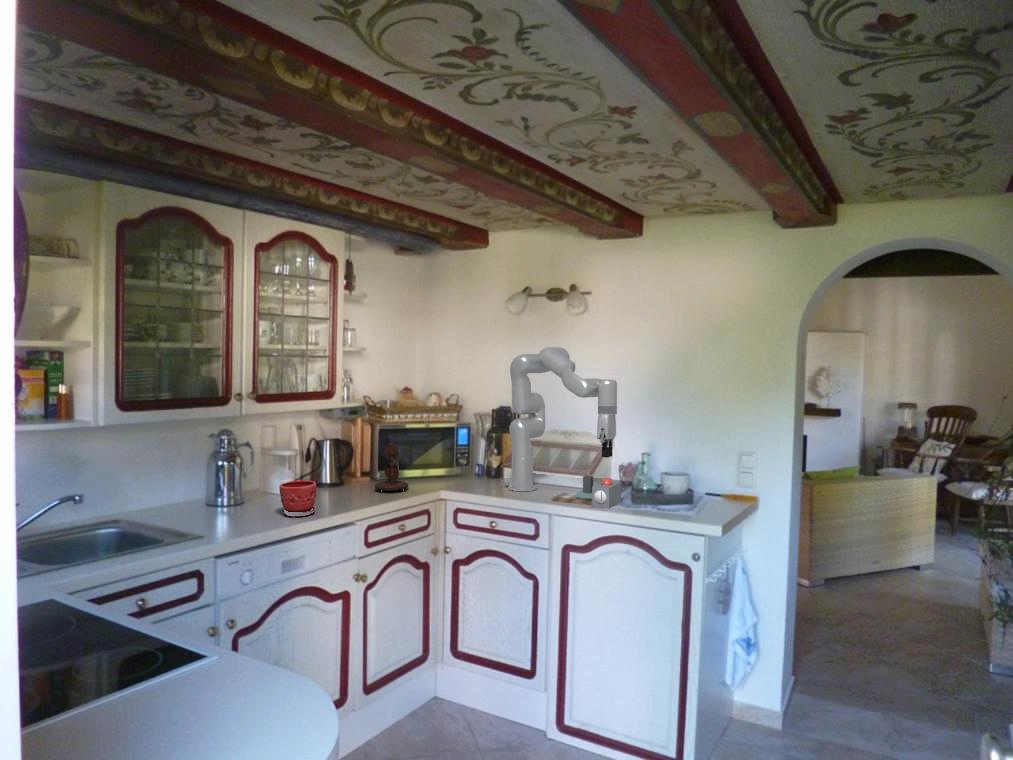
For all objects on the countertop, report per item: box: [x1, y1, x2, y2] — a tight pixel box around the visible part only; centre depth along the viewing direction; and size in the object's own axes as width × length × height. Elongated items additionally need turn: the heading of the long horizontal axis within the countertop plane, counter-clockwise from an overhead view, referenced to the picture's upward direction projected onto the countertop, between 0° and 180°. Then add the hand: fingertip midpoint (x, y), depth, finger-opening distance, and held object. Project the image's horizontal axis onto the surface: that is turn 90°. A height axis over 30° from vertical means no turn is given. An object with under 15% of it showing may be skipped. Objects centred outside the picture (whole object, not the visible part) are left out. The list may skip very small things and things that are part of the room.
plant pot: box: [279, 479, 317, 513], centre depth 268 cm, size 13×13×12 cm
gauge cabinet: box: [591, 481, 622, 509], centre depth 287 cm, size 7×15×8 cm, turn 152°
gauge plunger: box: [601, 477, 613, 486], centre depth 287 cm, size 4×4×5 cm
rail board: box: [551, 491, 592, 506], centre depth 293 cm, size 18×9×2 cm, turn 62°
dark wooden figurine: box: [374, 443, 409, 491], centre depth 315 cm, size 15×15×20 cm
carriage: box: [575, 475, 594, 499], centre depth 291 cm, size 7×8×8 cm
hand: (607, 456), depth 287 cm, fingers closed
